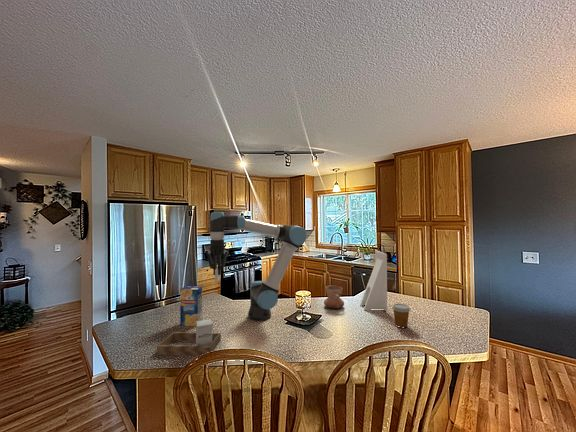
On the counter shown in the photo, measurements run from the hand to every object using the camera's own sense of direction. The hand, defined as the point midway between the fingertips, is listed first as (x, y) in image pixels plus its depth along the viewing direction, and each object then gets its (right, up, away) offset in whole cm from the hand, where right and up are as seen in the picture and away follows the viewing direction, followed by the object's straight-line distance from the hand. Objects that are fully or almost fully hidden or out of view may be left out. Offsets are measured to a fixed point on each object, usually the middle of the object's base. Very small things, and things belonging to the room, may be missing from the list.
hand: (217, 280), depth 144 cm
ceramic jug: (+74, -30, +41) cm, 89 cm away
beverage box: (-19, -30, +12) cm, 37 cm away
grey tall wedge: (+100, -29, +38) cm, 112 cm away
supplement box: (-2, -30, -17) cm, 34 cm away
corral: (-9, -29, -16) cm, 35 cm away
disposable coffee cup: (+108, -29, +7) cm, 112 cm away
